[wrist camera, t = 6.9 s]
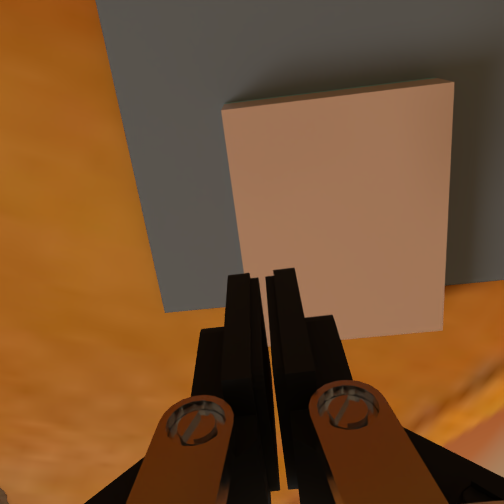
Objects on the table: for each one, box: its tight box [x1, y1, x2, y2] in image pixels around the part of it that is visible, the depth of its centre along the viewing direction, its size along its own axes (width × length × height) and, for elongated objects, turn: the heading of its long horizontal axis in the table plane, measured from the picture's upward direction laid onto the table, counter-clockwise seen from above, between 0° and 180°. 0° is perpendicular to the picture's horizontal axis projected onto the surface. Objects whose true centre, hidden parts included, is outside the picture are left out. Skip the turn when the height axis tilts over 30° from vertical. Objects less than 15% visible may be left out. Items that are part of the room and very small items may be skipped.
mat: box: [96, 0, 504, 313], centre depth 19 cm, size 16×16×1 cm
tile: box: [221, 77, 454, 346], centre depth 20 cm, size 10×2×8 cm
